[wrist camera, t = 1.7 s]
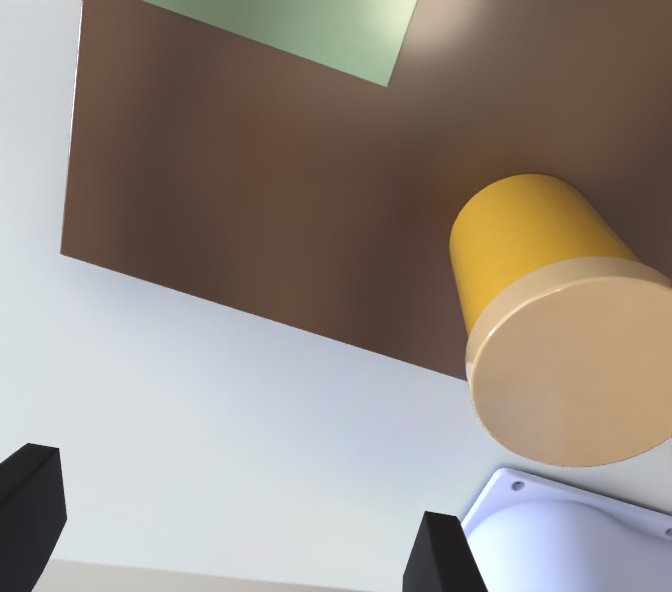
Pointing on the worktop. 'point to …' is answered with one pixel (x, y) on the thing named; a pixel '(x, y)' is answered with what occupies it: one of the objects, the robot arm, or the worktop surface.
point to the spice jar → (561, 326)
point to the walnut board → (355, 147)
